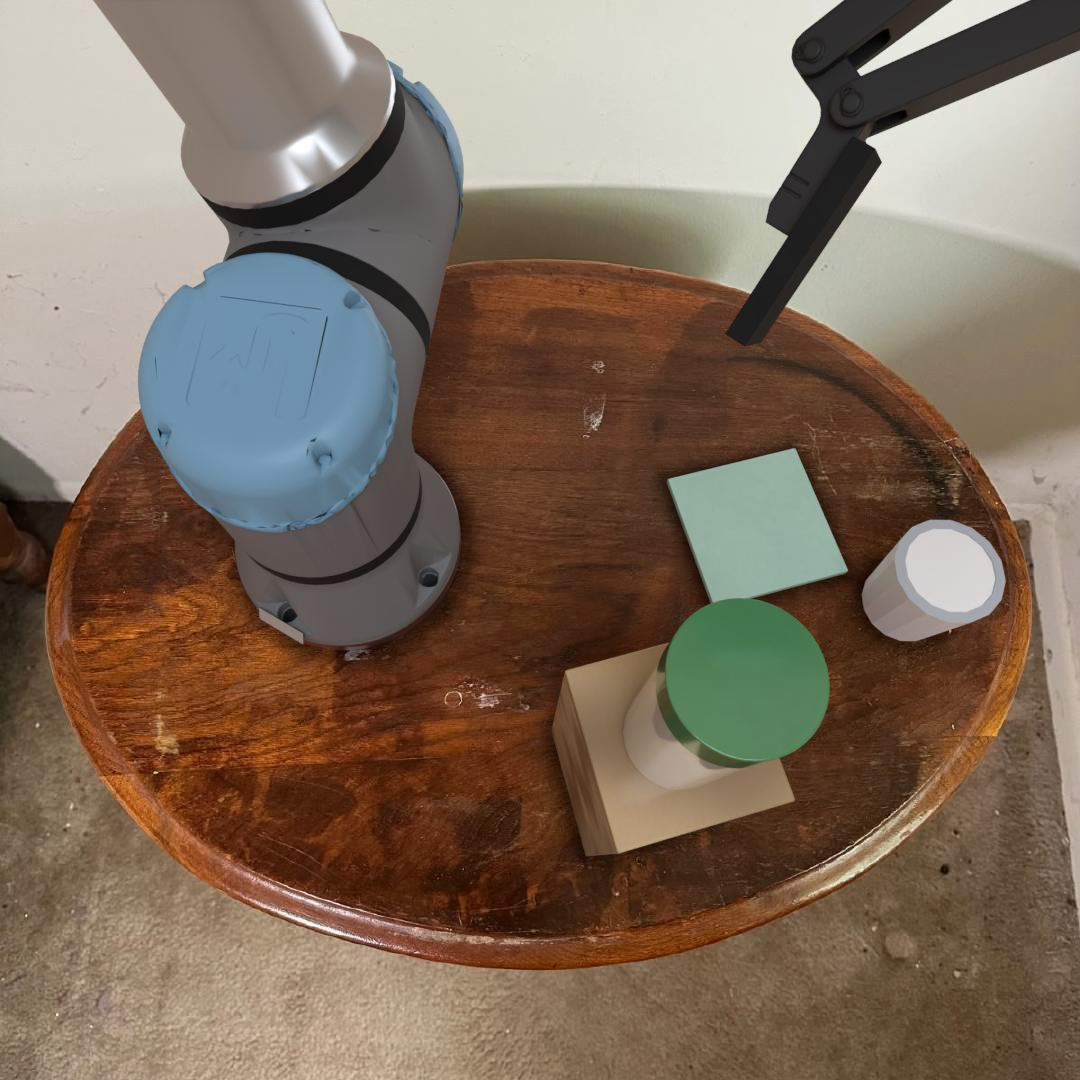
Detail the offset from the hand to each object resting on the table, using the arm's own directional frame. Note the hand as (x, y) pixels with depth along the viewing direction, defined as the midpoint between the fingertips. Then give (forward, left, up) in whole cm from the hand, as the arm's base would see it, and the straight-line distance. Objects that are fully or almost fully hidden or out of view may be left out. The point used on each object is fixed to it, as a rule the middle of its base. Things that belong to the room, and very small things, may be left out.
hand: (919, 456), depth 26 cm
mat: (-9, +7, -31) cm, 33 cm away
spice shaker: (+5, -7, -13) cm, 16 cm away
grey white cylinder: (-1, +15, -32) cm, 35 cm away
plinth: (+5, -7, -31) cm, 33 cm away
